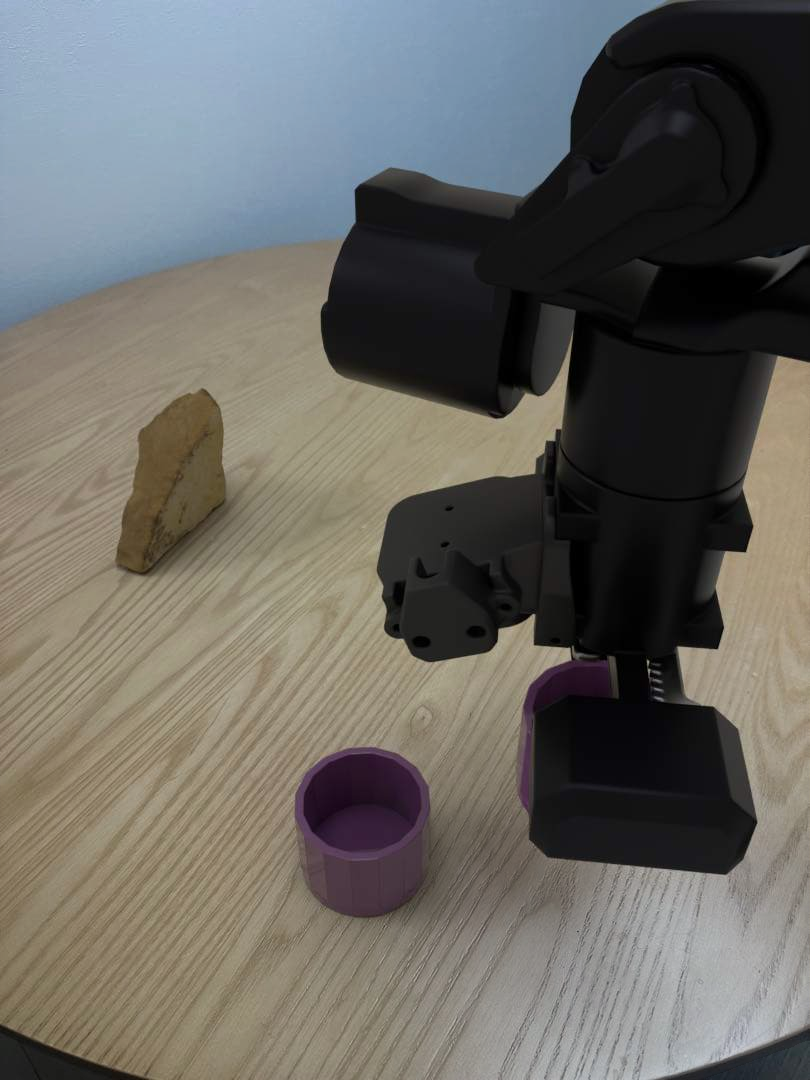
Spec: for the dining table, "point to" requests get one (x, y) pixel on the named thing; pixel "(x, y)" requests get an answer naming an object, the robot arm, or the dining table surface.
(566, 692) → the purple cup
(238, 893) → the dining table surface
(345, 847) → the purple faceted cup
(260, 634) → the dining table surface
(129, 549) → the rock
